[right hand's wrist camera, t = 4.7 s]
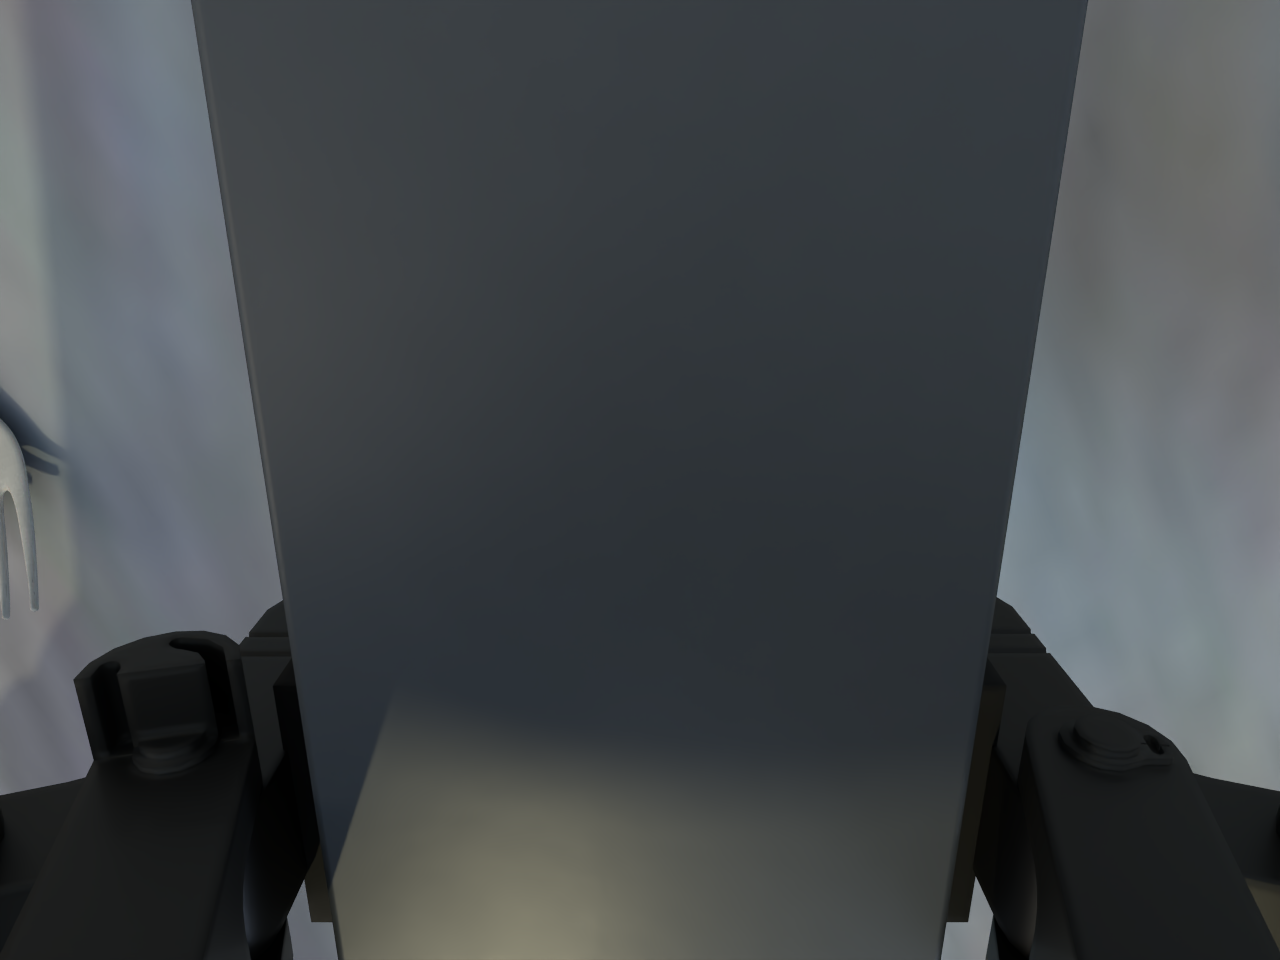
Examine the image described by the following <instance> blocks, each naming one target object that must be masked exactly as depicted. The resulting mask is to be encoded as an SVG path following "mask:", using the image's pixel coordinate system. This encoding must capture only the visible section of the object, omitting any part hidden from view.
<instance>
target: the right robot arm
mask: <svg viewBox="0 0 1280 960" xmlns="http://www.w3.org/2000/svg"><path fill="white" fill-rule="evenodd" d="M73 680H74V684H75V688H76V692H77V696H78V700H79V703H80V707H81V711H82V715H83V719H84V723H85V727H86V731H87V735H88V739H89V743H90V747H91V751H92V755H93V759H94V761H93V763H92V766H91V768H90V770H89V772H88V774H87V776H86V778H82V779H78V780H74V781H70V782H66V783H61V784H56V785H51V786H46V787H41V788H36V789H31V790H26V791H21V792H15V793H10V794H5V795H0V960H293V951H292V944H291V937H290V931H289V926H288V920H287V915H288V913H289V911H290V909H291V907H292V905H293V902H294V900H295V898H296V896H297V894H298V891H299V889H300V887H301V885H302V883H303V881H304V880H305V886H306V892H307V898H308V904H309V910H310V916H311V922H332V915H331V909H330V902H329V896H328V889H327V883H326V876H325V870H324V863H323V857H322V850H321V844H320V837H319V831H318V824H317V818H316V811H315V804H314V798H313V791H312V785H311V778H310V772H309V765H308V759H307V752H306V746H305V739H304V733H303V726H302V720H301V713H300V707H299V700H298V694H297V687H296V681H295V674H294V668H293V661H292V655H291V648H290V642H289V635H288V629H287V622H286V616H285V609H284V603H283V601H281V602H279V603H278V604H276V605H275V606H273V607H271V608H270V609H268V610H267V611H266V612H265V614H264V615H263V616H262V617H261V619H260V620H259V621H258V622H257V624H256V625H255V626H254V627H253V628H252V630H251V631H250V632H249V637H245V638H244V640H243V641H242V642H241V643H240V645H238V644H237V643H236V642H234V641H233V640H232V639H230V638H229V637H227V636H226V635H221V634H217V633H212V632H207V631H179V632H171V633H166V634H161V635H156V636H151V637H146V638H142V639H139V640H137V641H134V642H131V643H128V644H126V645H123V646H120V647H117V648H115V649H113V650H111V651H109V652H108V653H106V654H104V655H102V656H101V657H99V658H97V659H96V660H94V661H92V662H90V663H89V664H88V665H87V666H86V667H85V668H84V669H83V670H82V671H81V672H80V673H79V674H78V675H77V676H76V677H75V678H74V679H73ZM975 876H976V877H977V880H978V882H979V884H980V886H981V888H982V890H983V893H984V895H985V897H986V899H987V901H988V903H989V906H990V908H991V910H992V912H993V920H992V926H991V931H990V937H989V943H988V948H987V954H986V960H1280V791H1275V790H1270V789H1265V788H1260V787H1255V786H1250V785H1244V784H1239V783H1234V782H1229V781H1224V780H1219V779H1214V778H1210V777H1206V776H1202V775H1198V774H1194V773H1193V772H1192V770H1191V768H1190V766H1189V764H1188V762H1187V760H1186V758H1185V757H1184V756H1183V755H1182V753H1181V752H1180V751H1179V750H1178V748H1177V747H1176V746H1175V745H1174V744H1173V742H1172V741H1171V740H1169V739H1168V738H1166V737H1165V736H1163V735H1162V734H1160V733H1159V732H1157V731H1156V730H1154V729H1153V728H1152V727H1150V726H1149V725H1147V724H1144V723H1142V722H1139V721H1137V720H1135V719H1132V718H1130V717H1128V716H1125V715H1123V714H1121V713H1117V712H1113V711H1108V710H1104V709H1100V708H1095V707H1093V706H1092V704H1091V703H1090V702H1089V701H1088V699H1087V698H1086V697H1085V696H1084V695H1083V693H1082V692H1081V691H1080V690H1079V688H1078V687H1077V686H1076V685H1075V683H1074V682H1073V681H1072V680H1071V678H1070V677H1069V676H1068V675H1067V674H1066V672H1065V671H1064V670H1063V669H1062V667H1061V666H1060V665H1059V664H1058V662H1057V661H1056V660H1055V659H1054V658H1053V656H1052V655H1051V654H1050V653H1046V648H1045V646H1044V645H1043V644H1042V643H1041V642H1040V640H1039V639H1038V638H1037V637H1036V635H1035V634H1031V629H1030V628H1029V627H1028V625H1027V624H1026V623H1025V622H1024V621H1023V619H1022V618H1021V617H1020V616H1019V614H1018V613H1017V612H1016V611H1015V609H1014V608H1013V607H1012V606H1010V605H1009V604H1007V603H1005V602H1004V601H1002V600H1000V599H999V598H997V597H996V602H995V609H994V615H993V622H992V629H991V635H990V642H989V648H988V655H987V661H986V668H985V674H984V681H983V687H982V694H981V700H980V707H979V713H978V720H977V726H976V733H975V739H974V746H973V752H972V759H971V765H970V772H969V778H968V785H967V791H966V798H965V804H964V811H963V817H962V824H961V830H960V837H959V843H958V850H957V856H956V863H955V870H954V876H953V883H952V889H951V896H950V902H949V909H948V915H947V922H968V919H969V913H970V907H971V900H972V894H973V888H974V882H975Z"/></svg>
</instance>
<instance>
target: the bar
mask: <svg viewBox="0 0 1280 960" xmlns="http://www.w3.org/2000/svg"><path fill="white" fill-rule="evenodd" d="M191 3H192V10H193V16H194V23H195V29H196V36H197V42H198V49H199V55H200V62H201V68H202V75H203V81H204V88H205V94H206V101H207V107H208V114H209V120H210V127H211V133H212V140H213V146H214V153H215V159H216V166H217V173H218V179H219V186H220V192H221V199H222V205H223V212H224V218H225V225H226V231H227V238H228V244H229V251H230V257H231V264H232V270H233V277H234V283H235V290H236V296H237V303H238V309H239V316H240V322H241V329H242V335H243V342H244V348H245V355H246V361H247V368H248V374H249V381H250V388H251V394H252V401H253V407H254V414H255V420H256V427H257V433H258V440H259V446H260V453H261V459H262V466H263V472H264V479H265V485H266V492H267V498H268V505H269V511H270V518H271V524H272V531H273V537H274V544H275V550H276V557H277V563H278V570H279V576H280V583H281V589H282V596H283V603H284V609H285V616H286V622H287V629H288V635H289V642H290V648H291V655H292V661H293V668H294V674H295V681H296V687H297V694H298V700H299V707H300V713H301V720H302V726H303V733H304V739H305V746H306V752H307V759H308V765H309V772H310V778H311V785H312V791H313V798H314V804H315V811H316V818H317V824H318V831H319V837H320V844H321V850H322V857H323V863H324V870H325V876H326V883H327V889H328V896H329V902H330V909H331V915H332V922H333V928H334V935H335V941H336V948H337V954H338V960H941V954H942V948H943V941H944V935H945V928H946V922H947V915H948V909H949V902H950V896H951V889H952V883H953V876H954V870H955V863H956V856H957V850H958V843H959V837H960V830H961V824H962V817H963V811H964V804H965V798H966V791H967V785H968V778H969V772H970V765H971V759H972V752H973V746H974V739H975V733H976V726H977V720H978V713H979V707H980V700H981V694H982V687H983V681H984V674H985V668H986V661H987V655H988V648H989V642H990V635H991V629H992V622H993V615H994V609H995V602H996V596H997V589H998V583H999V576H1000V570H1001V563H1002V557H1003V550H1004V544H1005V537H1006V531H1007V524H1008V518H1009V511H1010V505H1011V498H1012V492H1013V485H1014V479H1015V472H1016V466H1017V459H1018V453H1019V446H1020V440H1021V433H1022V427H1023V420H1024V414H1025V407H1026V401H1027V394H1028V388H1029V381H1030V375H1031V368H1032V361H1033V355H1034V348H1035V342H1036V335H1037V329H1038V322H1039V316H1040V309H1041V303H1042V296H1043V290H1044V283H1045V277H1046V270H1047V264H1048V257H1049V251H1050V244H1051V238H1052V231H1053V225H1054V218H1055V212H1056V205H1057V199H1058V192H1059V186H1060V179H1061V173H1062V166H1063V160H1064V153H1065V147H1066V140H1067V134H1068V127H1069V120H1070V114H1071V107H1072V101H1073V94H1074V88H1075V81H1076V75H1077V68H1078V62H1079V55H1080V49H1081V42H1082V36H1083V29H1084V23H1085V16H1086V10H1087V3H1088V0H191Z"/></svg>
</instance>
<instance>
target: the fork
mask: <svg viewBox="0 0 1280 960" xmlns="http://www.w3.org/2000/svg"><path fill="white" fill-rule="evenodd" d="M5 491H9V492H10V493H11V495H12V497H13V500H14V504H15V508H16V512H17V517H18V522H19V527H20V533H21V539H22V545H23V552H24V558H25V565H26V572H27V579H28V587H29V596H30V610H31V611H37V610H38V609H39V599H38V578H37V560H36V545H35V533H34V522H33V513H32V505H31V498H30V491H29V484H28V477H27V471H26V466H25V461H24V457H23V454H22V451H21V448H20V446H19V443H18V441H17V439H16V437H15V436H14V434H13V433H12V431H11V430H10V428H9V427H8V426H7V425H6V424H5V423H4V422H3V421H2V420H1V419H0V600H1V612H2V618H3V619H9V617H10V593H9V572H8V555H7V541H6V530H5V520H4V508H3V496H4V493H5Z"/></svg>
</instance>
